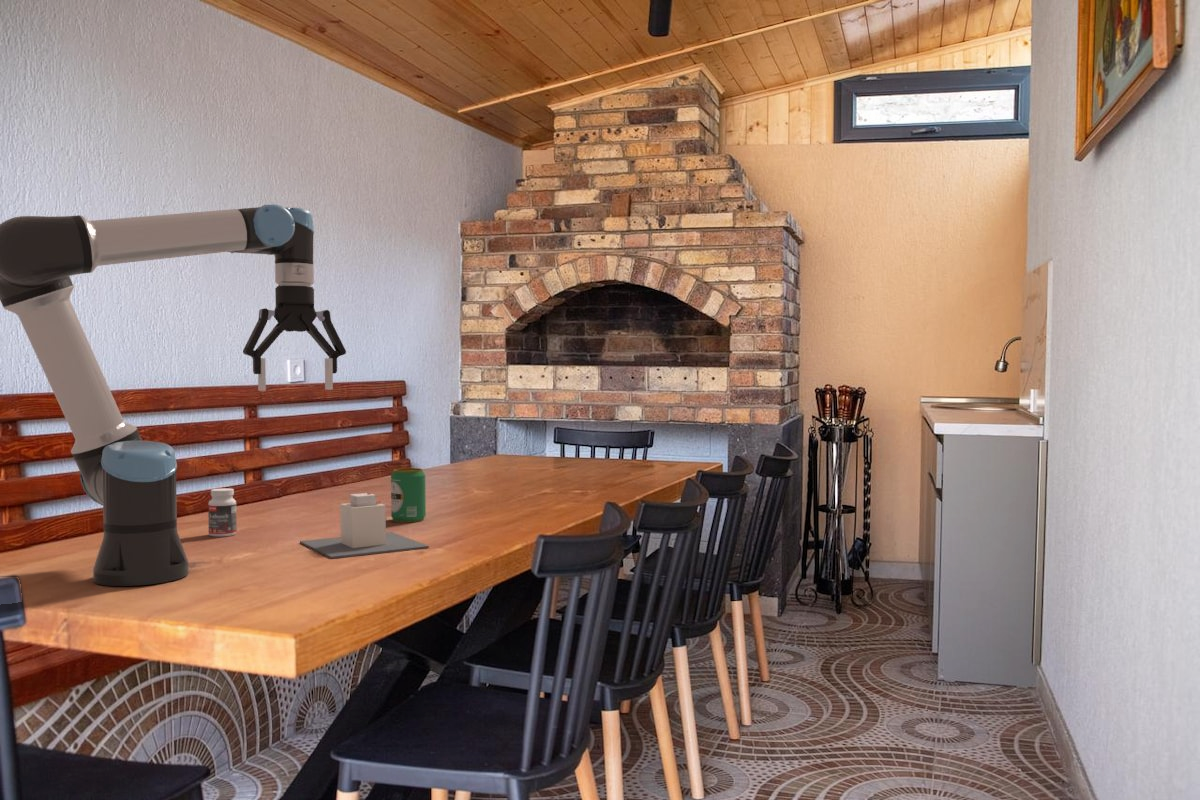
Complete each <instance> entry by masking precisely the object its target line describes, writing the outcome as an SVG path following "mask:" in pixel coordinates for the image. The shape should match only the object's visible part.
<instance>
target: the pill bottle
mask: <svg viewBox="0 0 1200 800" xmlns="http://www.w3.org/2000/svg"><path fill="white" fill-rule="evenodd" d="M234 494H235V490H234V488H231V487H230V488H227V487H226V488H225V487H224V488H220V487H219V488H212V489H211V490H210V496H211V499H210V500H209V501H208V505H207V506H208V507H207V508H208V512H207V513H208V535H209V536H210V537H214V538H215V537H216V538H219V537H220V538H221V537H222V538H223V537H224V538H225V537H230V536H234V535H236V534H237V524H238V523H237V500H235V498H233V497H234Z"/></svg>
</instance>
